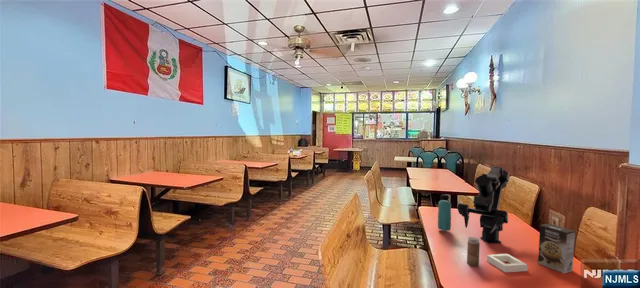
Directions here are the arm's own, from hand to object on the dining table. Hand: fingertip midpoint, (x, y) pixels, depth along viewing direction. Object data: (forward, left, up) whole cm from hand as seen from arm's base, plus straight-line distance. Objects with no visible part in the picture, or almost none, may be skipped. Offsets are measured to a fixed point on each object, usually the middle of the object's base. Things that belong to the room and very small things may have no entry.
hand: (477, 229), depth 114 cm
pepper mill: (+5, +4, -12) cm, 14 cm away
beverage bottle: (-4, -31, -13) cm, 34 cm away
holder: (-8, +7, -12) cm, 16 cm away
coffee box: (-26, +10, -13) cm, 31 cm away
